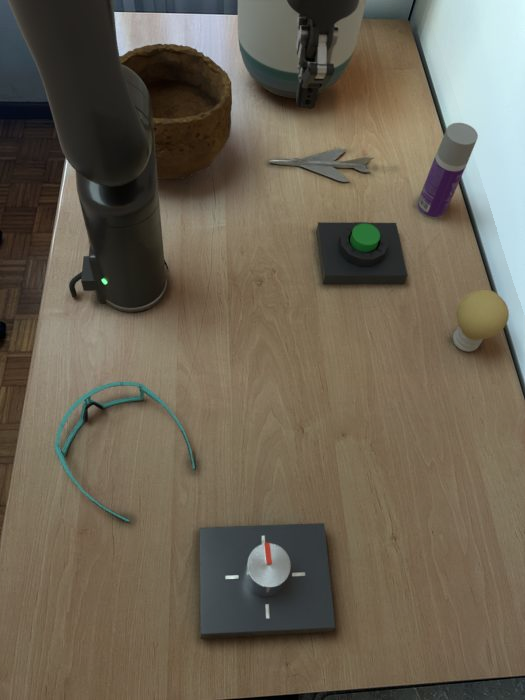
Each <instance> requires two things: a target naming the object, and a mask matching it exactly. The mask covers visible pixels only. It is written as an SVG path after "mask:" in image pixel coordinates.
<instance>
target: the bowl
mask: <svg viewBox="0 0 525 700" xmlns="http://www.w3.org/2000/svg"><path fill="white" fill-rule="evenodd" d="M119 56H120V61H121V64H122V65H124V66H126V67H128V68H129V69H131V70H132V71H133V72H135V73H136V74H137V75H138V76H139V77H140V78H141V80H142V81H143V82H144V84H145V86H146V87H147V89H148V92H149V94H150V98H151V103H152V113H153V125H154V138H155V150H156V161H157V177H158V179H164V178H165V179H172V180H180V179H185V178H190V177H192V176H194V175H196V174H198V173H200V172H202V171H203V170H205V169H207V168H209V167H210V166H211V165H212V164H213V163H214V161H215V159H217V157H218V156H219V154H220V153H221V152H222V151H223V149H224V148H225V147H226V144H227V143H228V141H229V138H230V136H231V131H232V130H231V129H232V113H231V112H232V105H233V94H232V93H233V92H232V91H233V89H232V81H231V79H230V77H229V74H228V73H227V71H225V70H223V68H222V67H221V66H220V65H218V64H217V63H216V62H215V61H214V60H213V59H211V57H210V56H207V55H204V52H203V51H198V50H197V49H196V48H193V47H192V46H188V45H182V44H180V45H179V44H176V43H169V44H168V43H164V44H162V43H155V44H148V45H143V46H141V47H135V48H134V49H132V50H128V51H127V52H125V53H124V54H123V55H119Z"/></svg>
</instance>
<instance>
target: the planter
mask: <svg viewBox="0 0 525 700" xmlns="http://www.w3.org/2000/svg"><path fill="white" fill-rule="evenodd" d="M366 4H367V0H359V4H358V6H357V8H356V10H355V11H354V12H353V13H352V14H351V15H349V16H348V17H346V18H343V19H341V20H339V21H338V22H336V23H335V26H338V29H339V32H338V39H337V43H336V45H335V46H334V47H333V52H332V57H331V61H330V62H331V64H334V68H335V71H334V73H333V76H332V78H331V79H330V80H329V82H328V83H327V85H326V86H325V88H324V89H320V88H318V94H320V93H323V92H324V91H326V90H328V89H329V88H331V87H332V86H334V85H335V83H337V82H338V81H339V79H341V77H342V76H343V74H344V73H345V71H346V69H347V68H348V66H349V64H350V62H351V59H352V57H353V54H354V51H355V48H356V45H357V41H358V37H359V34H360V30H361V25H362V22H363V18H364V14H365V13H364V12H365V9H366ZM297 16H298V13H297V12H296V11H294V10H293V9H292V8H291V7H290V5H289V4H288V2H287V0H237V39H238V47H239V52H240V56H241V59H242V62H243V64H244V67H245V69H246V71H247V72H248V73H249V75H250V77H252V79H253V80H254V81H255V82H256V83H257V84H259V85H260V86H261V87H262V88H263V89H265V90H267V91H268V92H270V93H272V94H274V95H277V96H281V97H283V98H290V99H296V92H297V85H298V78H299V72H298V69H297V66H298V64H299V61H298V54H297V47H296V44H297V36H298V24H297Z"/></svg>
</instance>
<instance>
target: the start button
mask: <svg viewBox="0 0 525 700" xmlns="http://www.w3.org/2000/svg"><path fill="white" fill-rule="evenodd" d="M379 239H380V233H379V231H378V229H377V228H376V227H374V226H373V225H370V224H365V223H364V224H359V225H357V226H355V227H354V229H353V231H352V235H351V238H350V243H351V245H352V247H353V248H354V249H356V250H357V251H360V252H364V253H368V252H371V251H373V250H375V249H376V247H377V245H378V242H379Z"/></svg>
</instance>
